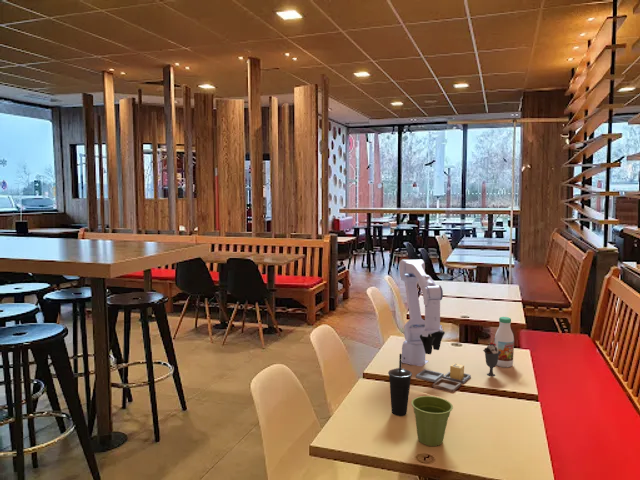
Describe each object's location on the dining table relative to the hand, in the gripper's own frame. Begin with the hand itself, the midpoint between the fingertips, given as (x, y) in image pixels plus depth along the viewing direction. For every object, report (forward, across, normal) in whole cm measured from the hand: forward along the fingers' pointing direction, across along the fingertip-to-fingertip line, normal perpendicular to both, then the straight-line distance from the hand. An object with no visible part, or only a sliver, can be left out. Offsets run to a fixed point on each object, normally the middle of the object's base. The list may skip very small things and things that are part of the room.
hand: (432, 351), depth 198 cm
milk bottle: (+10, +33, -18) cm, 38 cm away
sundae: (+11, +17, -17) cm, 26 cm away
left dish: (+11, 0, +1) cm, 11 cm away
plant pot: (+14, -45, -19) cm, 51 cm away
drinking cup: (+13, -34, -3) cm, 37 cm away
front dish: (+11, -5, -8) cm, 15 cm away
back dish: (+11, +5, -8) cm, 14 cm away
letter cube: (+10, +5, -8) cm, 14 cm away
